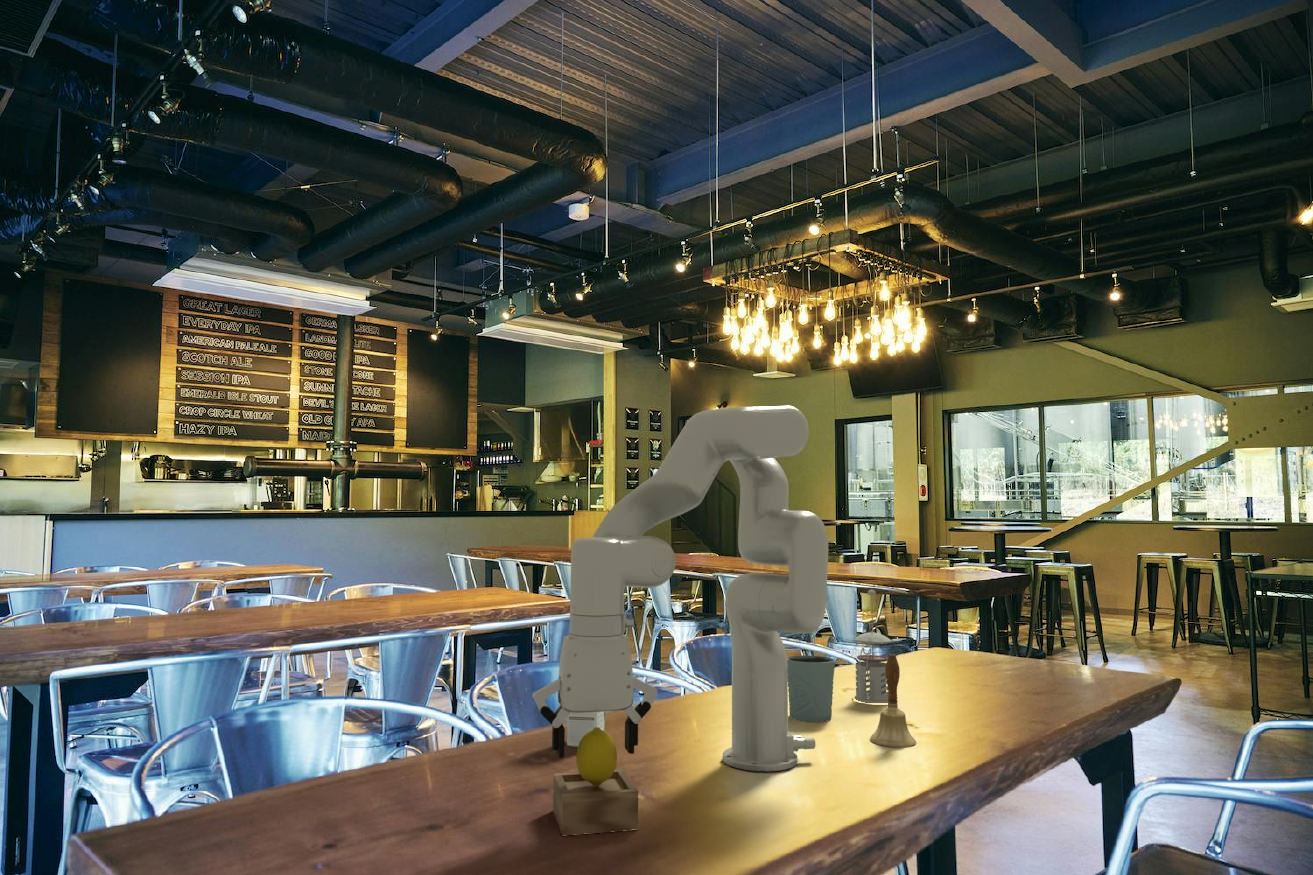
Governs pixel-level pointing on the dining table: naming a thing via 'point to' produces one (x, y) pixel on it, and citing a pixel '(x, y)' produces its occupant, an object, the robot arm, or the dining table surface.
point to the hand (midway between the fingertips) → (595, 753)
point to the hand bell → (892, 713)
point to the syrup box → (583, 725)
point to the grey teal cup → (810, 687)
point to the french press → (871, 668)
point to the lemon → (596, 756)
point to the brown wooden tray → (595, 804)
